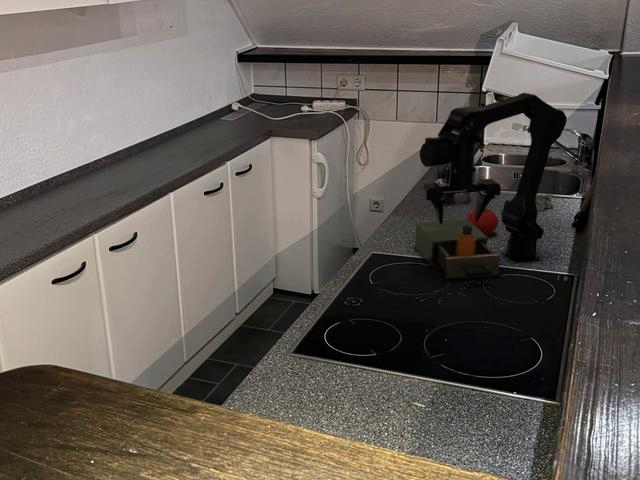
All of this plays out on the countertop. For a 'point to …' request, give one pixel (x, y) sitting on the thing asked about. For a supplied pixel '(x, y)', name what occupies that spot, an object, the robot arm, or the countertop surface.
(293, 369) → the countertop surface
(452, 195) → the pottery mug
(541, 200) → the egg carton
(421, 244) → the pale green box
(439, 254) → the drawer
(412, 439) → the countertop surface
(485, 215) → the tomato
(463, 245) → the bottle
